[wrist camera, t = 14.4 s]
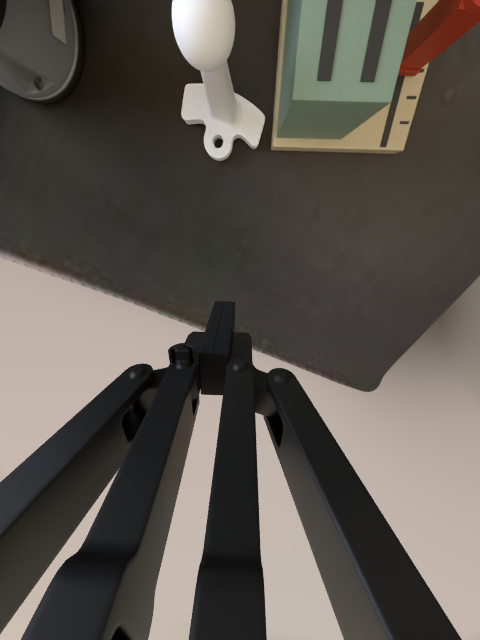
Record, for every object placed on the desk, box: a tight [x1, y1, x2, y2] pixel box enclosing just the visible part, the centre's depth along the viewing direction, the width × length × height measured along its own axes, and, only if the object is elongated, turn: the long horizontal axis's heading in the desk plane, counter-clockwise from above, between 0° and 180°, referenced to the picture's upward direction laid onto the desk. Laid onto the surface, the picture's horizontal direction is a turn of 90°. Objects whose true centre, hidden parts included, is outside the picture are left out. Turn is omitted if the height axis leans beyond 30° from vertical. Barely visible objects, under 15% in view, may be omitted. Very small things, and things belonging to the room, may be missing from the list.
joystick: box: [172, 0, 265, 161], centre depth 23 cm, size 11×8×20 cm
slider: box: [398, 0, 480, 76], centre depth 22 cm, size 3×3×11 cm
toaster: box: [271, 0, 439, 154], centre depth 23 cm, size 16×18×14 cm
